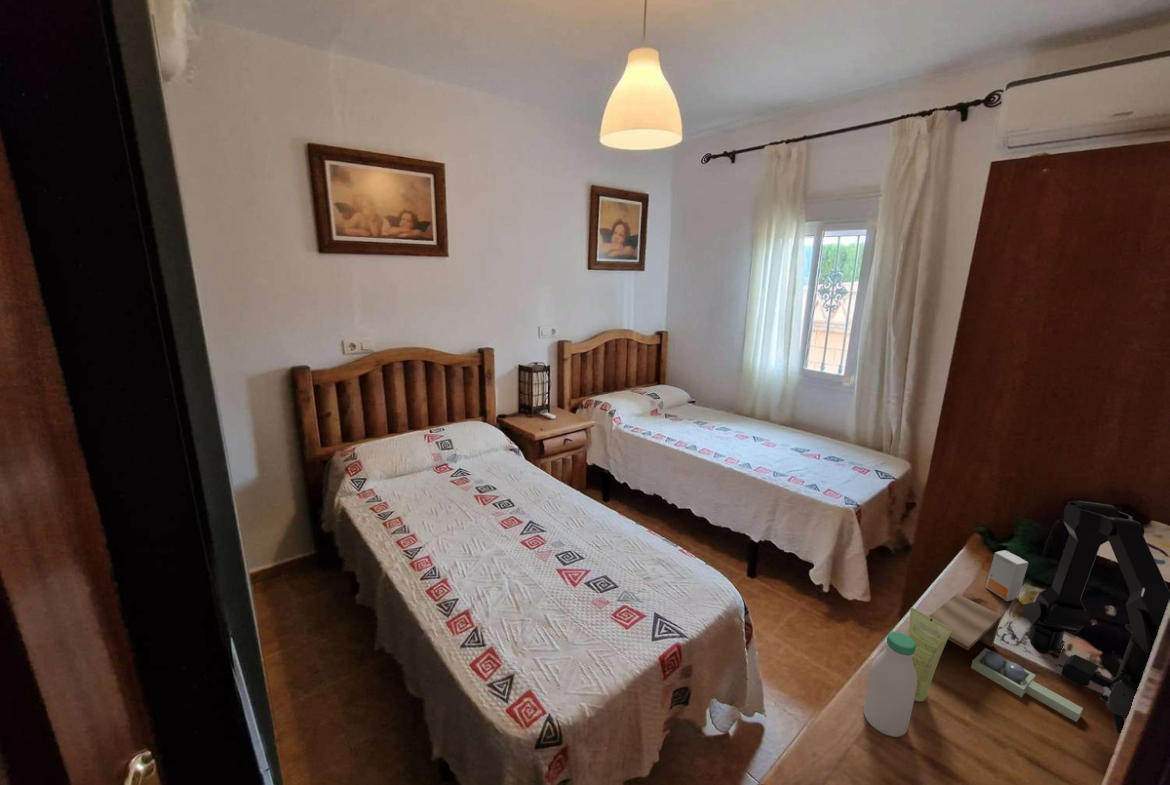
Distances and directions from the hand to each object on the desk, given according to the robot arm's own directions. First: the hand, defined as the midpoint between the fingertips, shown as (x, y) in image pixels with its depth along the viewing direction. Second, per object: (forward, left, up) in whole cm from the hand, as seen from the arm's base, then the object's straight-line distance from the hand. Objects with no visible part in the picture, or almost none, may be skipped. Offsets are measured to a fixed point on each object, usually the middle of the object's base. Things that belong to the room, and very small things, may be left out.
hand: (1120, 733), depth 91 cm
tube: (+21, -27, -3) cm, 34 cm away
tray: (0, -14, -3) cm, 14 cm away
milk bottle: (+33, -26, -3) cm, 42 cm away
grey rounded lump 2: (0, -16, -2) cm, 16 cm away
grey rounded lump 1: (0, -20, -2) cm, 20 cm away
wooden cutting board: (0, -27, -3) cm, 27 cm away
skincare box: (-36, -29, -3) cm, 46 cm away
